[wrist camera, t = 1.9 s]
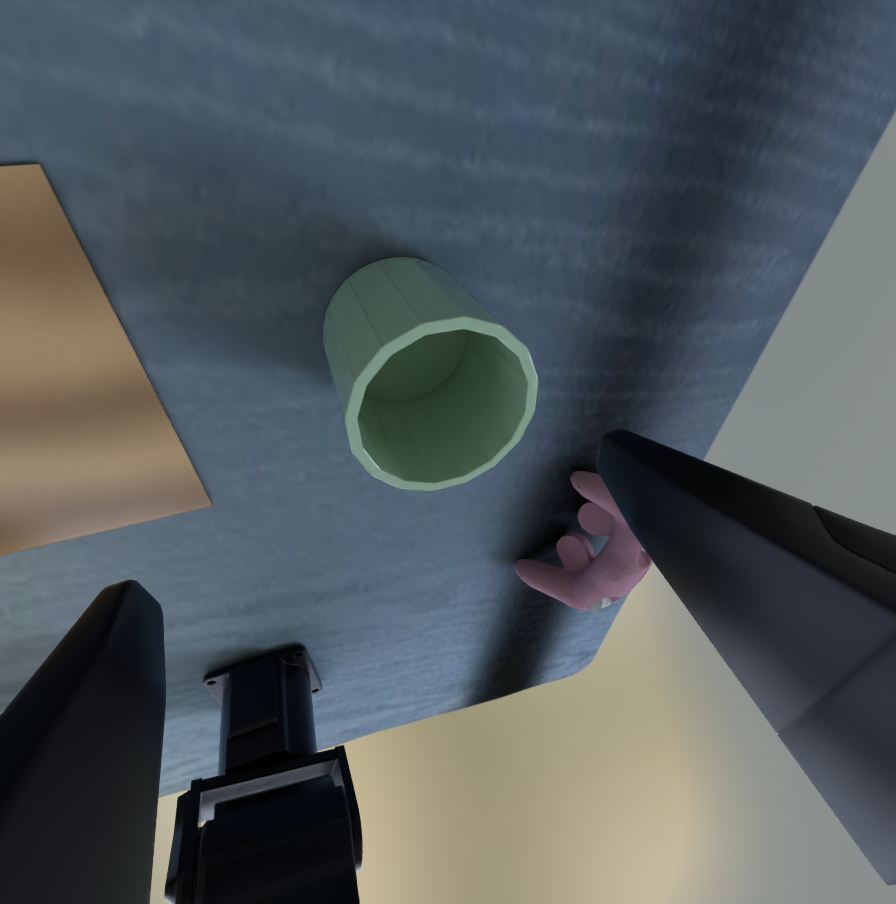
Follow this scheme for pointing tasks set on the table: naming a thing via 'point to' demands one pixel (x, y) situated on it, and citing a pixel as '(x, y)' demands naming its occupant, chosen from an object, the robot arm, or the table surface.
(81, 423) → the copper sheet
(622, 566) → the video game controller
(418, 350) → the glazed cup
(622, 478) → the robot arm
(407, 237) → the table surface
